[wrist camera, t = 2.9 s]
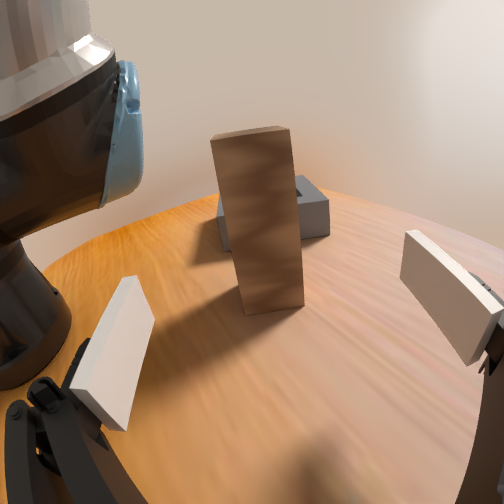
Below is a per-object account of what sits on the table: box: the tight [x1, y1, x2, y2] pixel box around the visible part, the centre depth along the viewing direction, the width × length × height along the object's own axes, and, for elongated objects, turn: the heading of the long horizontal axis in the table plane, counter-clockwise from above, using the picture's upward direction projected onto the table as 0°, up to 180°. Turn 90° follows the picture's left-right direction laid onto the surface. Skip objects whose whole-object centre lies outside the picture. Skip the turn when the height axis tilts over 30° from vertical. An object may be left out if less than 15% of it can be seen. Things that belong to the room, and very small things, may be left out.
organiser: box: [216, 175, 330, 252], centre depth 38 cm, size 13×13×4 cm
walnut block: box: [210, 126, 304, 316], centre depth 22 cm, size 5×5×14 cm
